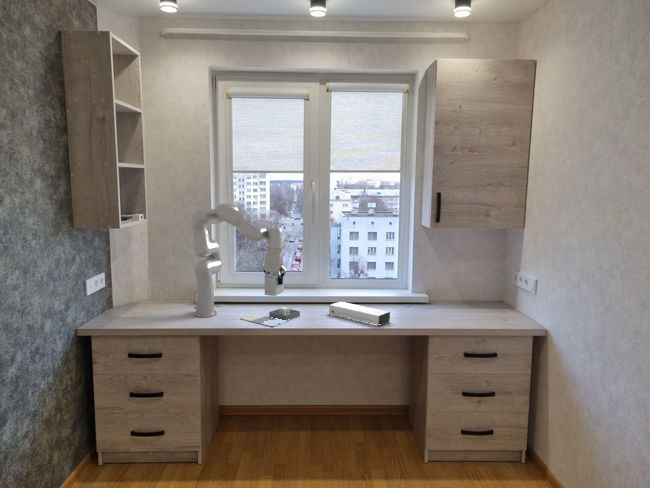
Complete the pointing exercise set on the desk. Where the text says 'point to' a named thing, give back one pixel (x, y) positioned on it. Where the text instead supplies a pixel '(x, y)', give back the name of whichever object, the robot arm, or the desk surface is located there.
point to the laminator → (359, 313)
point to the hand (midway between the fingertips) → (274, 283)
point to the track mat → (257, 318)
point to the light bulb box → (273, 285)
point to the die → (284, 310)
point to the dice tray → (284, 317)
